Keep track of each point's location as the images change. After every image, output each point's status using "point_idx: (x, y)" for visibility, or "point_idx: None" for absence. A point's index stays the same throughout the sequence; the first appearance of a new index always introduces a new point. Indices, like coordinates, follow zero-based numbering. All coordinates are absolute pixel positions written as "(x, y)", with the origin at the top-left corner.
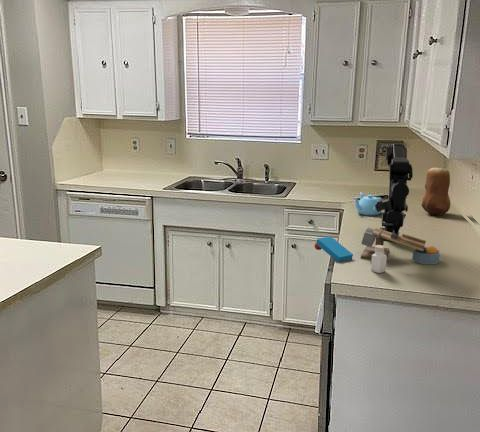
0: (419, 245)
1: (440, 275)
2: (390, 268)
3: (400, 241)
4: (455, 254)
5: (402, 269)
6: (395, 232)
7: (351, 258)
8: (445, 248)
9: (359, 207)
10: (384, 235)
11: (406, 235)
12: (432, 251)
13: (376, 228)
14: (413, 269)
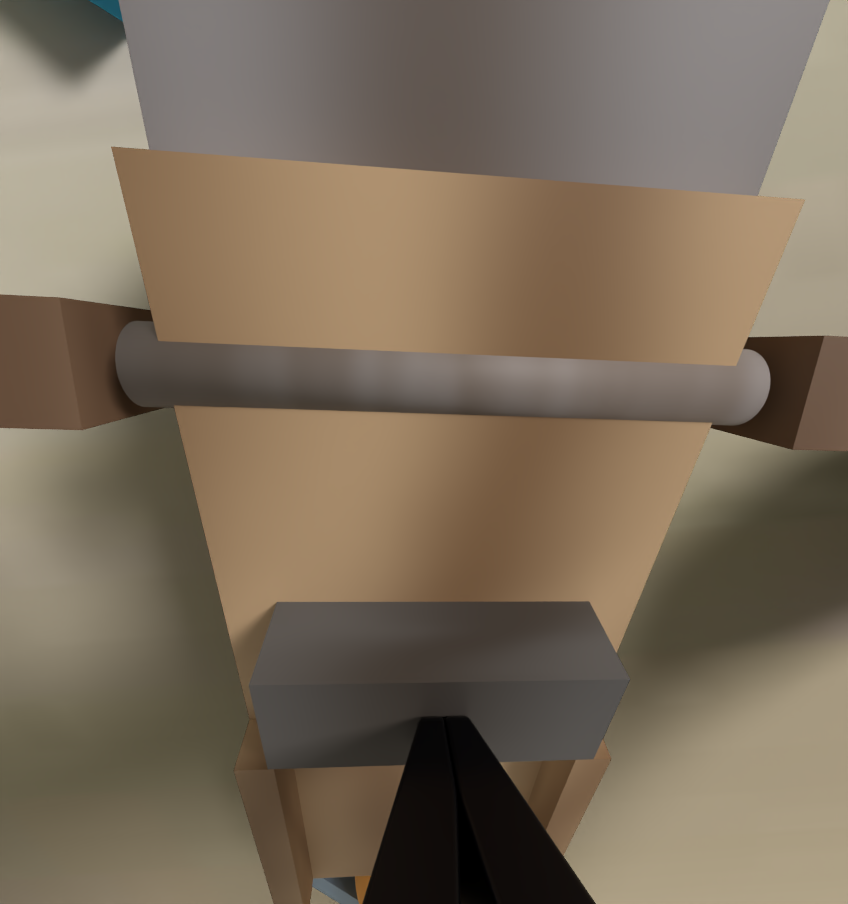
0: (273, 896)
1: (90, 840)
2: (37, 510)
3: (250, 729)
4: (611, 879)
5: (72, 606)
6: (415, 741)
7: (119, 18)
8: (742, 823)
9: None
10: (289, 494)
11: (559, 795)
12: (357, 892)
13: (745, 227)
14: (124, 680)
